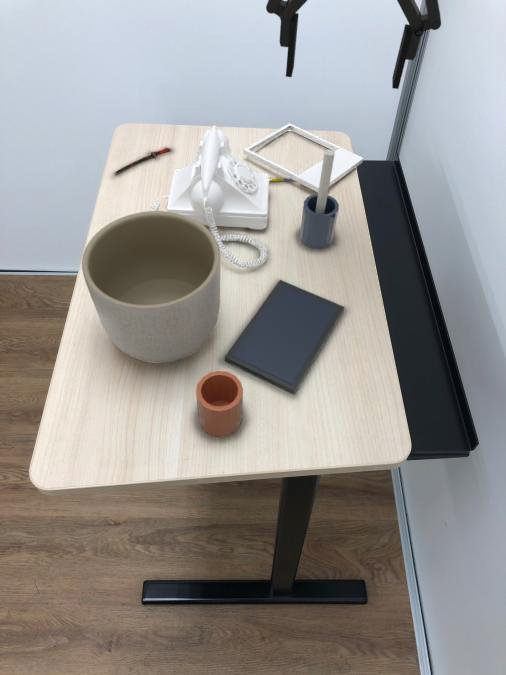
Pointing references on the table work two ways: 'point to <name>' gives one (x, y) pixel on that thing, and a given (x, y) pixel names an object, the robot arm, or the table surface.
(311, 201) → the holder
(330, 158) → the stylus
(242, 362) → the tablet
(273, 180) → the pen
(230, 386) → the cup
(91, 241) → the planter
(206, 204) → the telephone
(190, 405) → the table surface
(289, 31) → the robot arm
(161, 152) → the katana
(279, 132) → the photo frame
